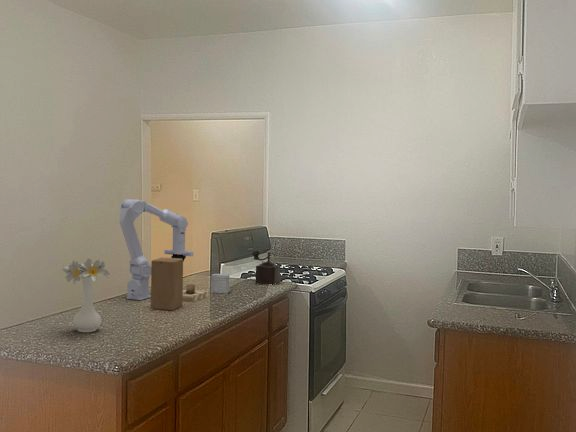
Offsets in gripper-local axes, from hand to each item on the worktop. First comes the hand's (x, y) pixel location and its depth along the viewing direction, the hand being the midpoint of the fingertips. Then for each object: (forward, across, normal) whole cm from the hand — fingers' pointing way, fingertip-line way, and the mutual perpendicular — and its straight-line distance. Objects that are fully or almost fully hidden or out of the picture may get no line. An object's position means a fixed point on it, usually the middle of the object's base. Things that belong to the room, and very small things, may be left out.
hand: (178, 270), depth 267 cm
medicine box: (+11, -17, -10) cm, 22 cm away
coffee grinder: (+11, -26, -43) cm, 51 cm away
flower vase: (+11, -9, +73) cm, 74 cm away
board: (+10, -11, +8) cm, 17 cm away
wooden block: (+11, -13, +29) cm, 34 cm away
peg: (+10, -12, +9) cm, 18 cm away
